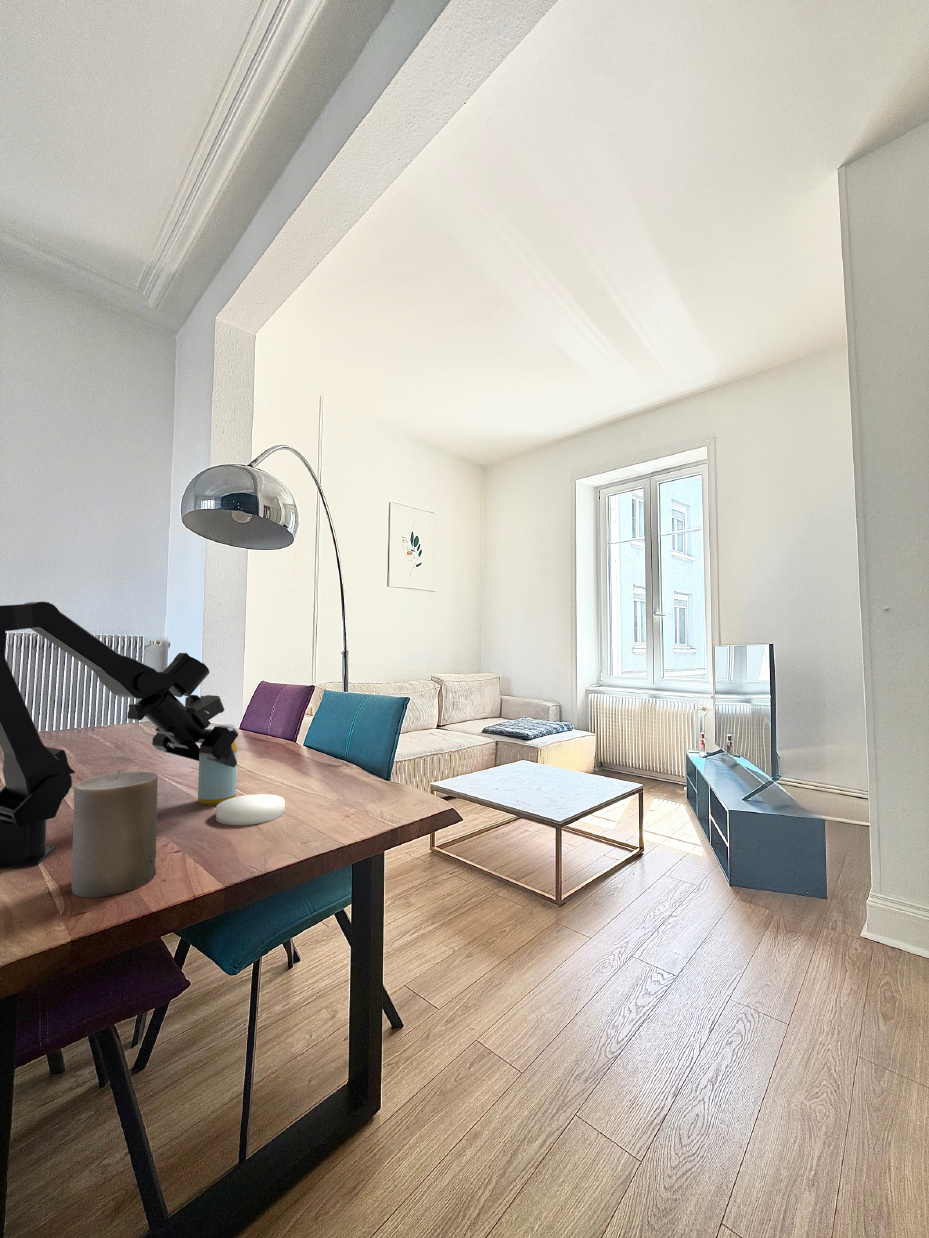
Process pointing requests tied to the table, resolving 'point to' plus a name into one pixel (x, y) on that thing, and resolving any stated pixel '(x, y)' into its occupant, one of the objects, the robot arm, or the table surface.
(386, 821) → the table surface
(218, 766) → the bottle
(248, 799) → the round base
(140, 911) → the table surface
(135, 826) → the pillar candle
